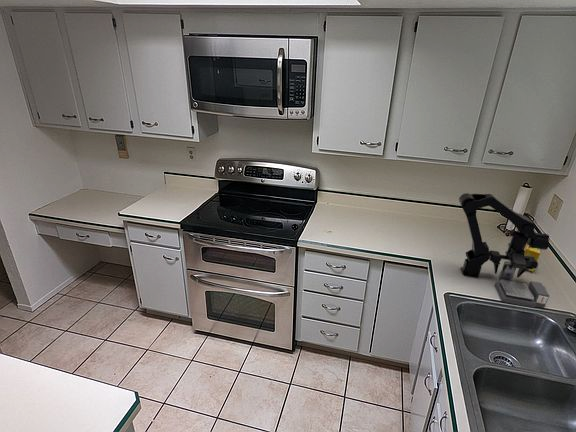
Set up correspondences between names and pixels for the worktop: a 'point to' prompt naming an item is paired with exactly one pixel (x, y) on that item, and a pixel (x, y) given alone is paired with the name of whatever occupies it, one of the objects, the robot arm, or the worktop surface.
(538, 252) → the supplement box
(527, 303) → the dark grey u-shaped piece
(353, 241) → the worktop surface
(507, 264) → the cylinder
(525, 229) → the robot arm
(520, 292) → the pan
